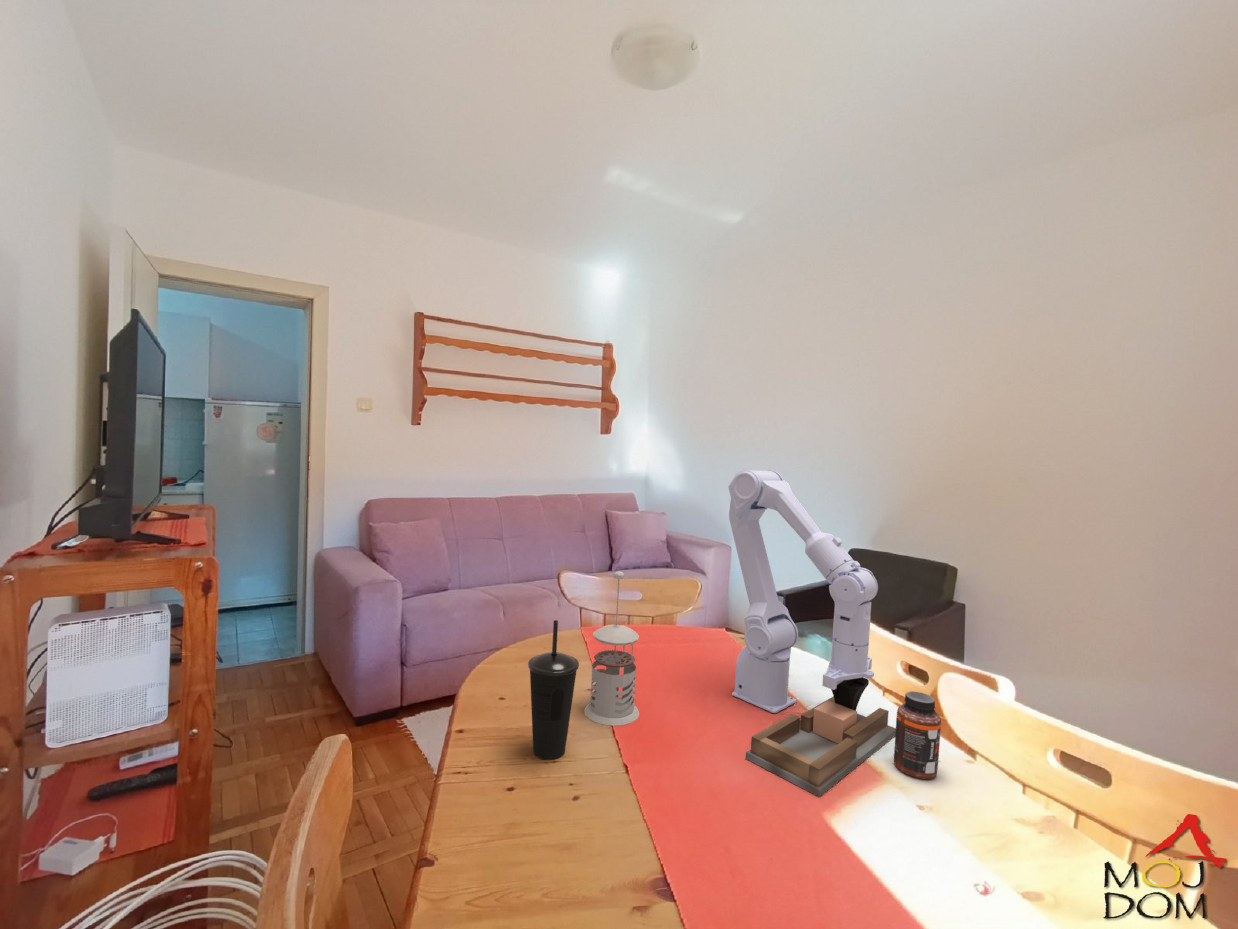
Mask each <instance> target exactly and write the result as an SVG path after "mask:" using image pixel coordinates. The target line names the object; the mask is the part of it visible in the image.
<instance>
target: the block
mask: <svg viewBox="0 0 1238 929" xmlns="http://www.w3.org/2000/svg"><path fill="white" fill-rule="evenodd" d="M827 700H828V699H827ZM825 701H826V700H825ZM822 703H823V702H822ZM820 704H821V703H820ZM815 707H816V706H815ZM813 708H814V707H813ZM857 714H858V711H857V710H856V711H855V710H852V709H849V708H847V707H844V706H842V705H839V704H836V703H834V702H831V701H829V700H828V701H826V702H825V703H823V704H821V705H820V706H818V707H816V708H814V718H813V733H815V734H818V735H820V736H822V737H824V738H827V739H829V740H831V741H834V742H836V743H838V744H839V743H840V742H842V741H843V733H844V732H845V731H847V730H848V729H849V728H851V727H852V726H854V725H855V724H856V722H857Z"/></svg>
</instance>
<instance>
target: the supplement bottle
mask: <svg viewBox="0 0 1238 929" xmlns="http://www.w3.org/2000/svg"><path fill="white" fill-rule="evenodd" d="M904 696H905V697H904V702H905V703H902V704H901V705H898V708H897V710H896V717H895V718H896V720H895V728H896V733H895V737H894V748H893V749H894V750H893V762H894V763H893V764H894V765H895V767H896V768H897V769H898V770H899V771H900V772H902V773H904V774H906V775H908V776H911V777H913V778H917V779H922V780H923V779H924V780H930V779H934V778H935V777H936V776H937V774H938V770H939V769H938V768H939V759H940V758H939V756H940V743H941V742H940V741H941V740H940V739H941V727H942V726H941V725H942V719H941V717H940V715H939V714H938V713H937V712H936V700H935V698H934V697H933V696H931V695H930V694H926V693H923V692H921V691H907V692H905V694H904Z"/></svg>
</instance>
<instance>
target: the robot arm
mask: <svg viewBox="0 0 1238 929" xmlns="http://www.w3.org/2000/svg"><path fill="white" fill-rule="evenodd" d="M728 491H729V495H730V502H729V511H728V520H729V523H730V528H731V532H732V536H733V541H734V544H735V548H736V552H737V558H738V561H739V566H740V570H741V574H742V579H743V582H744V586H745V590H746V594H747V599H748V602H749V607H748V609H747V611H746V613H745V615H744V617H743V621H744V625H745V628H744V629H745V630H744V637H743V639H744V643H745V647H744V648H742V649H741V650H740V652H738V653H739V654H737V655H738V656H737V658H736V664H735V681H734V691H733V692H732V693H731V695H732V696H733V697H736V698H738V699H741V701H745V702H747V703H749V704H752V705H754V706H755V707H759V708H761V709H762V710H763V709H764V710H766V711H768V712H771V713H773V714H777V713H779V712H781V711H782V710H784V709H786V708H788V707H789V706H791V705H793V704H795V703H797V698H794V697H792V696H789V695H788V694H789V691H788V690H789V679H790V677H789V676H790V664H791V661H790V660H791V653H792V648H793V647H794V646H796V643H797V642H798V639H799V630H798V627H797V625H796V623H795V622H794V621H793V619H792V617H791V616H790V612H789V610H788V607H786V606H785V605H784V604H783V603H782V602H781V601H780V600H779V598H778V593H777V589H776V586H775V585H776V584H775V582H774V577H773V572H772V570H771V565H770V561H769V558H768V552H767V550H766V545H765V541H764V537H763V533H762V530H761V525H760V519H761V518H762V516H763V515H764V513H765V512H766V510H768V509H770V510H774V511H777V513H778V514H779V515H780V516H781V517H782V518H783V519H784V521H785V522H786V523H787V524H788V525H789V526H790V527H791V528H792V530H793V531H794V532H795V533H796V534H797V535H798V536H799V537H800V539H801V540H802V541H804V544H805V545H804V546H805V550H804V553H805V554H806V556H807V557H808V558H809V560H810V561H811V562H812V564H813V565H814V566H815V567H816V569H817V570H818V571H819V572H820V574H821V575H822V577H824V579H825V580H826V582H827V583H828V584H829V586H828V591H829V594H830V597H831V598H832V600H833V601H834V602H833V603H834V612H833V625H832V639H831V642H832V643H831V653H830V654H831V655H830V662H828V667H827V670H826V671H825V673H823V674H822V687H824V688H826V689H827V688H828V689H830V691H831V692H832V697H833V696H834V700H835V703H836V704H839V705H842V706H844V707H847V708H849V709H852V710H855V711H857V709H858V706H859V703H860V699H861V697H862V695H863V693H864V691H865V690H866V688H867V687H868V686H869V683H870V682H869V680H871V679H872V678H873V677H874V676H875V672H874V671H871V670H872V666H873V663H872V662H873V658H872V657H869V645H870V644H869V643H870V631H871V630H870V628H871V614H872V613H871V612H872V602H871V601H872V600H873V599H874V598H875V597H876V596H877V594H878V590H879V584H878V581H877V579H876V577H875V576H874V573H873V572H872V571H871V570H869V569H867V568H865V567H861V564H860V563H859V562H858V560H854V559H853V558H852V556H851V555H850V554H849V553H848V552H847V550H846V549H845V548H844V547H843V546H842V544H843V541H842V539H841V538H840V537H838V536H835V535H833V534H832V533H828V532H823V531H821V529H820V528H819V527H818V525H817V524H816V523H815V521H814V520H813V518H812V517H811V515H810V514H809V513H808V512H807V511H806V509H805V508H804V506H803V505H802V504H801V502H800V501H799V499H798V498H797V497H796V495H795V494H794V493H793V490H792V487H791V485H790V483H788V482H787V481H786V480H784V478H783V476H782V474H780V473H779V472H778V471H776V470H772V469H769V470H768V469H767V470H752V469H742V470H740V471H737V473H736V474H735V475H734V477H733V478H732V480H731V482H730V483H729V485H728Z"/></svg>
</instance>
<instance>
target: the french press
mask: <svg viewBox="0 0 1238 929" xmlns="http://www.w3.org/2000/svg"><path fill="white" fill-rule="evenodd" d="M613 579H615V580H616V579H617V580H618V581H617V594H616V595H617V596H616V598H617V599H616V614H615V615H616V616H615V624H606V625H605V626H602V627H599V628H597V629H596V630H594V632H593V633H592V636H593V637H594V639H595V640H596V641H597V642H598V643H601V644H605V645H608V646H609V645H610V646H614V650H611V649H608V650H607V649H605V650H602V651H599V652H597V653H595V655H594V660H595V661H593V663H592V665H591V683H590V684H591V686H590V700H589V703H588V704H587V705H586V706H585V708H584V710H583V712H584V715H585V716H586V717H587V718H588V719H589V721H592V722H595V723H597V724H598V725H599V724H600V725H605V726H611V727H613V726H624V725H627V724H631V723H634V721H636V720H638V719H639V716H640V711H639V709H638V707H637V706H636V705H635V702H636V701H635V696H636V691H635V690H636V681H637V680H636V678H637V677H636V674H637V666H636V665H635V663H634V662H635V660H636V658H635V656H634V655H633V652H634V651H633V649H634V647H633V646H634V644H635V643H637V641H638V640H639V638H640V635H639V634H638V633H637V632H636V631H635V630H634V629H632V628H630V627H628V626H626V625H623V624H622V625H619V624H618V615H619V614H618V613H619V612H618V611H619V594H620V593H619V592H620V580H624V579H625V573H624V572H623V571H620V570H618V571H615V572H614V574H613ZM629 645H630V646H631V651H630V652H631V653H629V652H625V649H626V646H629ZM617 646H623V647H622V650H620V649H619V650H617V648H616V647H617ZM598 666H604V667H606V669H605V668H597V667H598ZM595 668H597V669H595ZM622 668H623V672H622V673H623V674H620V672H621V669H622ZM619 689H622V691H620V690H619ZM593 690H594V691H593Z"/></svg>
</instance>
